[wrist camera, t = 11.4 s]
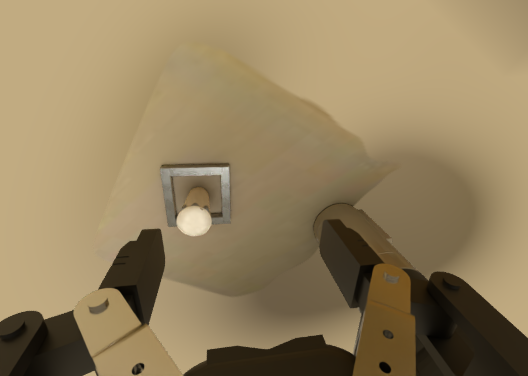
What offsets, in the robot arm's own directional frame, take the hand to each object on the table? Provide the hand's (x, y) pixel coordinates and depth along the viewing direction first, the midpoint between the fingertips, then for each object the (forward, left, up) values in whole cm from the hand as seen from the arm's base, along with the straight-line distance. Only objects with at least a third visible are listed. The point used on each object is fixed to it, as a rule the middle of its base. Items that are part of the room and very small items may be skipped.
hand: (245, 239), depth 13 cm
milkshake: (+5, +11, -28) cm, 31 cm away
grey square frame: (+5, +11, -28) cm, 30 cm away
